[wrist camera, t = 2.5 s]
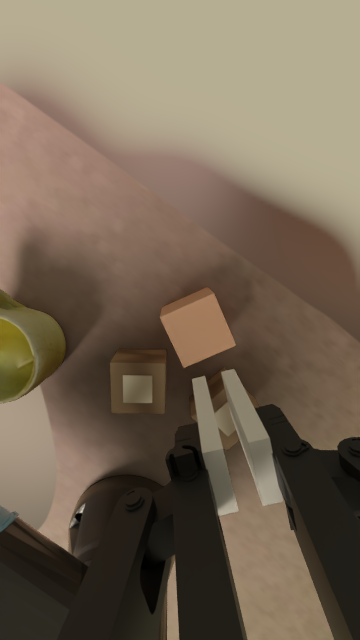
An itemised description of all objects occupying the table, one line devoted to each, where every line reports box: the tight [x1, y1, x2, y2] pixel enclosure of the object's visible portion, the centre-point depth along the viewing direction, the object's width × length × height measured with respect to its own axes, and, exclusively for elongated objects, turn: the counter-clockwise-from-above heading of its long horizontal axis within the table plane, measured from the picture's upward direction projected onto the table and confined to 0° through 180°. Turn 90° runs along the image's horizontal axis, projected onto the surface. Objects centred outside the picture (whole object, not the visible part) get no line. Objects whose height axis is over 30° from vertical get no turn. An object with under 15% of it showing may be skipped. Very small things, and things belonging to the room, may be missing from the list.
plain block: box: [160, 287, 236, 368], centre depth 34 cm, size 6×6×6 cm
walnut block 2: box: [189, 367, 259, 451], centre depth 37 cm, size 6×6×5 cm
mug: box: [0, 290, 66, 403], centre depth 34 cm, size 12×10×10 cm
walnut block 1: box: [110, 349, 167, 414], centre depth 36 cm, size 6×6×5 cm
